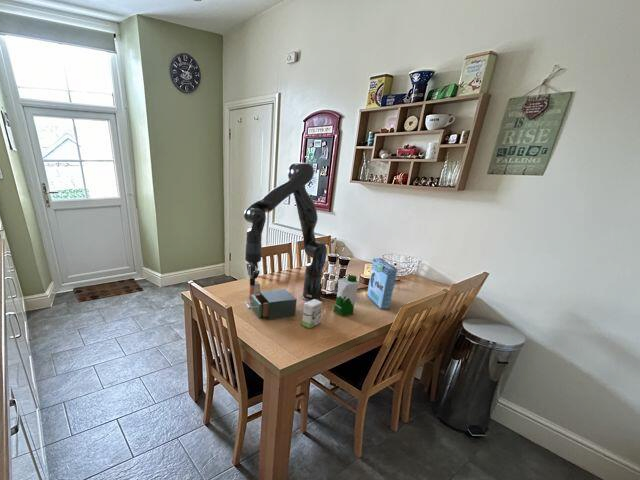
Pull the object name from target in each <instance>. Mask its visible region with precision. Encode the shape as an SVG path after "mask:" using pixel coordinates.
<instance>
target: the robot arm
mask: <svg viewBox="0 0 640 480" xmlns="http://www.w3.org/2000/svg"><path fill="white" fill-rule="evenodd" d="M314 175H315V169H314V167H313V165H312V164H310V163H306V162H293V163H291V164H290V165H289V166H288V169H287V178H288V180H287V181H285V182H284V183H282V184H280V185H278V186H276V187H274V188H273V189H271V190H270V191H268V193H267V194H265V195H264V196H263V197H262V198H261V199H259V200H257V201H256V202H253V203H251V204H250V205H249V206H248V207H247V208H246V209H245V210H244V213H243V218H244V220H245V221H246V222H247V223H250V224H252V225H251V228H248V229H247V231H246V237H245V238H246V239H245V240H246V241H245V255H244V260H245V261H246V262H247V263H246V264H245V265H246V268H247V270H246V271H247V275H248V277H249V286H250V285H251V286H254V285H255V281H256V279H258V277H259V275H260V273H261V272H260V270H258V269H259V265H258V264H259V262H261V261H262V250H263V249H262V247H263V246H262V245H263V244H262V240H263V239H262V238H263V237H262V235H263V234H262V233H263V232H264V227H265V225H266V220H267V214H266V213H270V212H272V211H273V210H274V209H275V208H277V207H278V206H279V205H280V204H281V203H283V201H284V200H286V199H287V198H288V197H290V196H291V195H292V194H293V197H294V201H295V206H296V210H297V214H298V215H297V216H298V219H299V223H300V228H301V233H302V241H303V250H304V253H305V255H306V256H307V257H309V258H311V260H312V261H311V262H309V263H307V264H306V265H305V270H304V280H303V290H302V296H301V297H302V300H305V301H307V302H309V301H311V300H313V299H316V300H318V301H320V300H321V297H322V295H323V294H324V295H326V296H332V295H335V294H336V293H333V292H329V293H328V294H326V293H327V292H326V291H325V290H322V289H323V283H322V278H323V277H322V276H323V269H324V267H325V265H326V259H327V254H328V247H327V245H326V244H325V243H323V242H322V241H321V242H320V241H317V238H316V234H315V229H316V226H317V224H318V220H319V216H318V210H317V206H316V203H315V202H314V200H313V199H312V197H311V196H310V193H308V191H307V189H306V185H307V184H309V183H310V182H311V181H312V180H313V178H314ZM401 280H402V279H401V278H399V279H395V283H396V282H400V281H401ZM365 289H366V290H367V289H368V286H364V287H358V288H357V291H361V290H365Z"/></svg>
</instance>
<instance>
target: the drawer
mask: <svg viewBox="0 0 640 480" xmlns="http://www.w3.org/2000/svg"><path fill="white" fill-rule="evenodd" d="M243 304H244V305H245V306H246V308H247V309H248V310H251V311H252V312H253V313H254V315H255V317H257V318H258V319H262V317H263V318H267V317H266V316H268V314H269V302H268V301H267V300H266V299H265V298H264V297H263V296H262V295H261V294H259V295H256V297H255V296H254V295H253V294H251V299H250V301H244V302H243Z"/></svg>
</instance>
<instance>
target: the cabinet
mask: <svg viewBox="0 0 640 480" xmlns="http://www.w3.org/2000/svg"><path fill="white" fill-rule="evenodd" d="M260 294H261V295H262V296H263V297H264V298H265V299H266V300H267V301H268V302H269V314H268V316H266V317H265V318H267V319H268V320H275V319H276V320H277V319H284V318H291V317H295V316H296V311H297V300H298V299H297V298H296V297H295V296H294V295H293V294H292V293H290V292H289V291H288V289H286V288H279V289H270V290H269V289H268V290H260Z"/></svg>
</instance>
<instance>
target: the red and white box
mask: <svg viewBox="0 0 640 480" xmlns="http://www.w3.org/2000/svg"><path fill="white" fill-rule="evenodd" d="M260 291H261V284H260V283H259V281H258V280H255V285H254V286H251V285H250V284H249V299H250V300H251V294H253V295H254V296H255V297H256V295H259V294H260Z"/></svg>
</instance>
